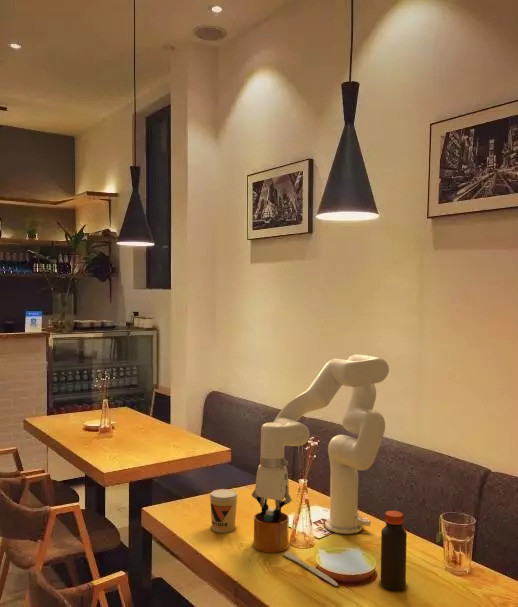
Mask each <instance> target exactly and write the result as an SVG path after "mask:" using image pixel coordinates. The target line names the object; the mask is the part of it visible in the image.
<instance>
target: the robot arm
mask: <svg viewBox="0 0 518 607" xmlns="http://www.w3.org/2000/svg"><path fill="white" fill-rule="evenodd" d="M389 372H390V367H389V364H388V362H387V361H386V360H385V359H384V358H382V357H378V356H372V355H366V354H351V355H350V356H349V357H348V358H347V359H342V358H332V359H330V360H329V361H327V362H326V363H325V365H324V366H323V367H322V369H321V370H320V371H319V373H318V374H317V376H316V377H315V378H314V380H313V381H312V382H311V384H310V385H309V387H308V388H307V389H306V390H305V391H304V392H302V393H301V394H298V395H297V396H296V397H294V398H293V399H291V400H290V401H288V402H287V403H286V404H285V405H284V406H283V408H281V410H280V412H279V413H278V414H277V415H276V417H275V419H274V421H273V422H272V421H271V422H266V423H263V424H262V425H261V429H260V431H261V432H260V464H258V467H257V472H256V476H255V486H254V487H255V488H254V490H253V492H252V493H251V497H252V498H254V499H255V500H256V502H258V504H259V506H260V508H261V512H262V513H261V515H262V520H263V518H264V515H265V514H266V510H268V509H269V504H268V499H269V500H274V503H275V508H274V509H275V510H274V522H277V521H278V520H279V519H280V518H281V512H282V508H283V507H284V506H285V505H288V504H290V503H292V502H293V499H292V496H291V495H290V486H289V484H290V483H289V474H288V468H287V466H288V465H289V460H286V458H285V447H300V446H303V445H305V444H307V442H308V441H309V439H310V437H311V433H310V430H309V427H308V426H306V424H304V423H303V422H300V421H299V420H300V419H301V418H302V417H303V416H304V415H306V414H308V413H310V412H314V411H317V410H318V411H319V410H321V409H324V408H326V407H327V406H329V404H330V403H331V402H332V400H333V398H334V397H335V396H336V395H337V393H338V392H339V390H340V389H341V387H342V386H345V387H349V388H350V387H351V388H352V390H351V393H350V398H349V400H348V403H347V406H346V408H345V410H344V414H343V416H342V422H341V424H342V427H343V428H344V430H346V431H347V432H349V433H350V434H354V435H357V438H356V437H354V436H351V435H345V434H337V435H334V436H333V437H332V438H331V439H330V441H329V443H328V447H327V455H328V459H329V467H330V468H329V469H330V480H329V481H330V483H329V484H330V488H329V491H330V492H329V518H328V519H326V520H325V522H324V526H325V528H326V529H327V531H330V532H333V533H335V534H341V535H350V534H357V533H359V532H361V531H362V528H363V526H365V527H371V526H372V525H371V524H372V523H371V522H372V521H371V520H370V519H369V518H368V517H362V516H360V512H359V510H358V509H359V472H358V471H367V470H369V469H370V468H371V467H372V466H373V464H374V463H375V460H376V458H377V455H378V453H379V449H380V447H381V443H382V440H383V438H384V436H385V435H384V434H385V431H386V420H385V418H384V415H383V414H382V413H381V412H379V411H377V410H374V406H375V402H376V399H377V388H376V384H379V383H381V382H383V381H385V379H387V377H388V375H389Z"/></svg>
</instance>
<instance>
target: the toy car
mask: <svg viewBox="0 0 518 607" xmlns="http://www.w3.org/2000/svg"><path fill="white" fill-rule="evenodd" d="M275 509H276V508H272V507H268V510H266V514H265V515H264V518H263V521H269V522H272V523H274V510H275Z"/></svg>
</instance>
